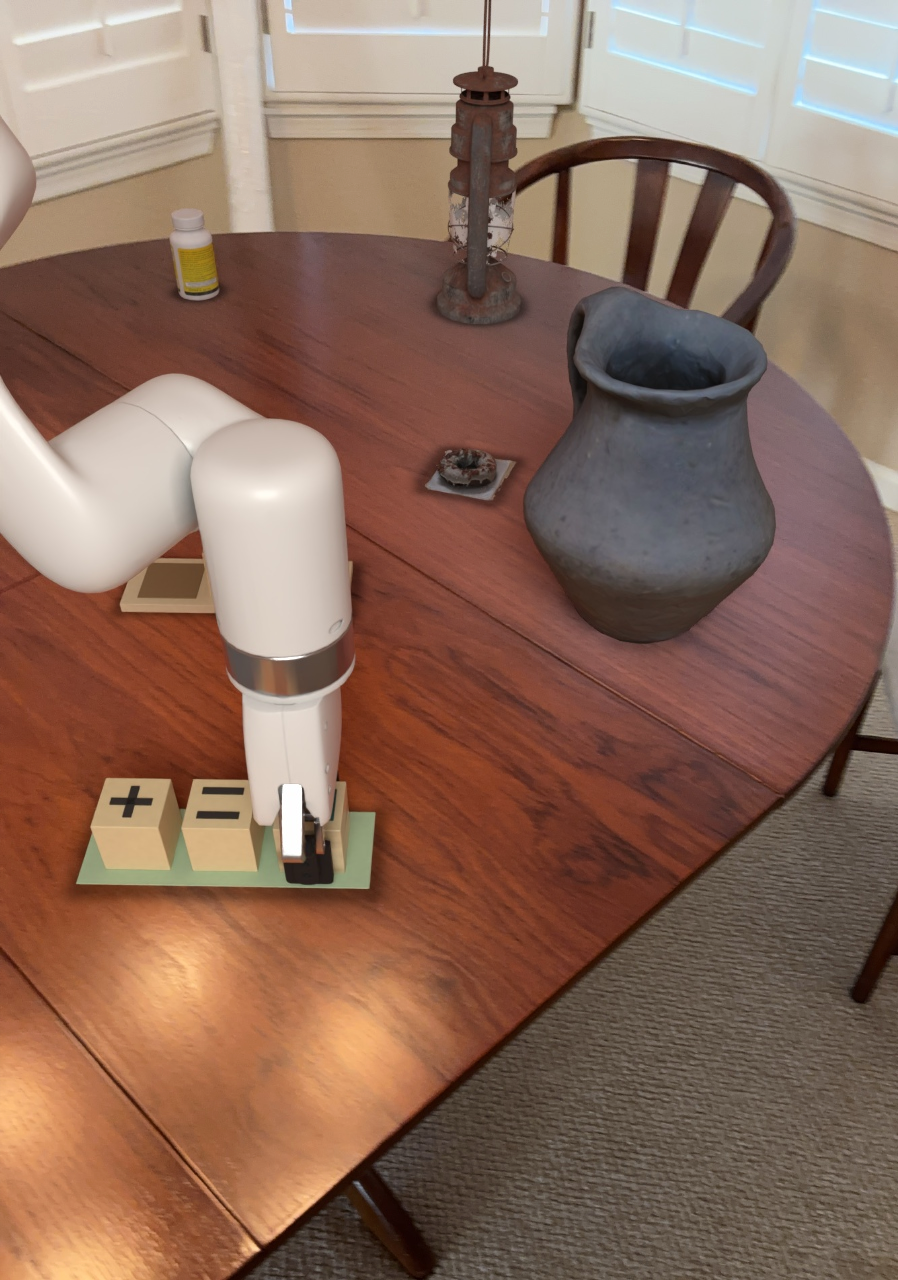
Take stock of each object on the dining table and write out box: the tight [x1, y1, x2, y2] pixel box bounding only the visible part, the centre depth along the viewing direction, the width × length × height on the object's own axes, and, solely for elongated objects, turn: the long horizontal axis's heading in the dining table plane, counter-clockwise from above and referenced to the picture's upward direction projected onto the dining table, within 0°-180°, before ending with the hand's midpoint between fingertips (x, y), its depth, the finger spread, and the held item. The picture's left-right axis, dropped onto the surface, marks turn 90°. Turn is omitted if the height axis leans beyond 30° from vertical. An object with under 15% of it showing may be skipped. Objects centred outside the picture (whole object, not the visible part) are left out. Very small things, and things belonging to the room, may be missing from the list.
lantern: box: [436, 0, 522, 325], centre depth 125 cm, size 11×16×35 cm
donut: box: [424, 447, 517, 502], centre depth 108 cm, size 8×8×2 cm
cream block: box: [273, 780, 350, 873], centre depth 72 cm, size 4×4×5 cm
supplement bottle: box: [169, 207, 220, 301], centre depth 136 cm, size 5×5×10 cm
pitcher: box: [522, 286, 777, 645], centre depth 86 cm, size 21×22×25 cm
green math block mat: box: [75, 777, 376, 890], centre depth 73 cm, size 20×7×6 cm, turn 89°
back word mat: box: [119, 550, 354, 614], centre depth 94 cm, size 20×7×6 cm, turn 89°
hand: (315, 843), depth 74 cm, fingers open, 5 cm apart
